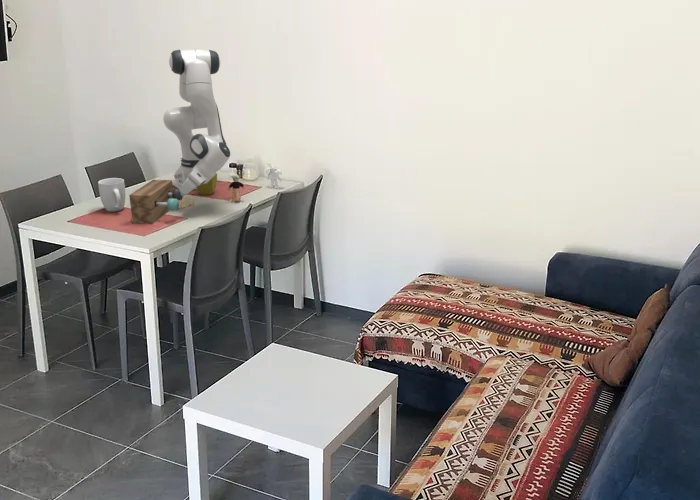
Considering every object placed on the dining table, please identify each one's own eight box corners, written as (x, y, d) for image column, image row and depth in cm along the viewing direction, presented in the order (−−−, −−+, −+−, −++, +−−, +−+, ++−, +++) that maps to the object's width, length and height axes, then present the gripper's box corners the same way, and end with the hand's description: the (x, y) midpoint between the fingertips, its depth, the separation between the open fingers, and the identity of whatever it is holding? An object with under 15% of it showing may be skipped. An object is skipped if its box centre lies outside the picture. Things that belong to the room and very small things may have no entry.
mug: (133, 212, 331) (130, 183, 327) (108, 216, 326) (104, 187, 321) (122, 204, 343) (119, 176, 339) (98, 208, 337) (94, 180, 333)
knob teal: (179, 208, 321) (177, 197, 319) (174, 212, 316) (173, 200, 314) (159, 207, 322) (158, 196, 320) (155, 211, 317) (154, 199, 315)
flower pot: (218, 191, 362) (217, 172, 359) (214, 196, 354) (212, 177, 351) (200, 190, 363) (199, 172, 360) (195, 195, 355) (194, 177, 352)
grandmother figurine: (230, 203, 343) (228, 176, 338) (228, 201, 346) (226, 174, 342) (246, 201, 345) (245, 174, 341) (244, 199, 349) (242, 172, 344)
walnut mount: (174, 206, 340) (172, 180, 335) (152, 223, 316) (150, 195, 312) (155, 205, 341) (152, 179, 337) (132, 222, 318) (129, 195, 314)
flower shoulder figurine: (264, 187, 367) (263, 163, 363) (269, 185, 371) (267, 161, 366) (280, 189, 363) (278, 165, 359) (284, 187, 366) (283, 163, 362)
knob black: (183, 198, 335) (182, 187, 333) (179, 201, 330) (178, 190, 329) (165, 197, 336) (163, 186, 334) (160, 201, 332) (159, 190, 330)
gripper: (204, 162, 336) (185, 183, 341) (188, 174, 317) (168, 195, 322) (214, 172, 337) (195, 193, 342) (199, 184, 318) (179, 206, 323)
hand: (182, 194), depth 332 cm, fingers closed, pressing on knob black
